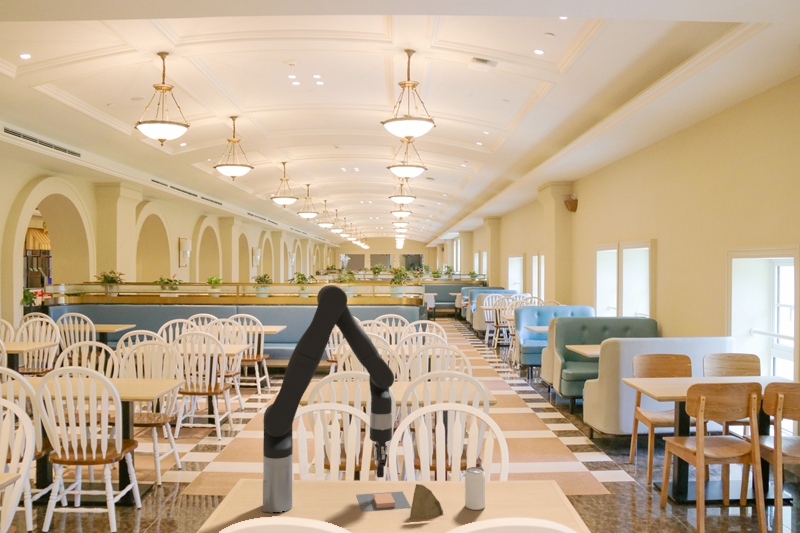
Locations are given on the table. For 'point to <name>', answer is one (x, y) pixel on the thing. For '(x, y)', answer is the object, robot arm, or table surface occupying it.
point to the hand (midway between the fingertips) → (380, 476)
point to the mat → (369, 505)
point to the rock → (424, 504)
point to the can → (475, 488)
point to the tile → (383, 500)
